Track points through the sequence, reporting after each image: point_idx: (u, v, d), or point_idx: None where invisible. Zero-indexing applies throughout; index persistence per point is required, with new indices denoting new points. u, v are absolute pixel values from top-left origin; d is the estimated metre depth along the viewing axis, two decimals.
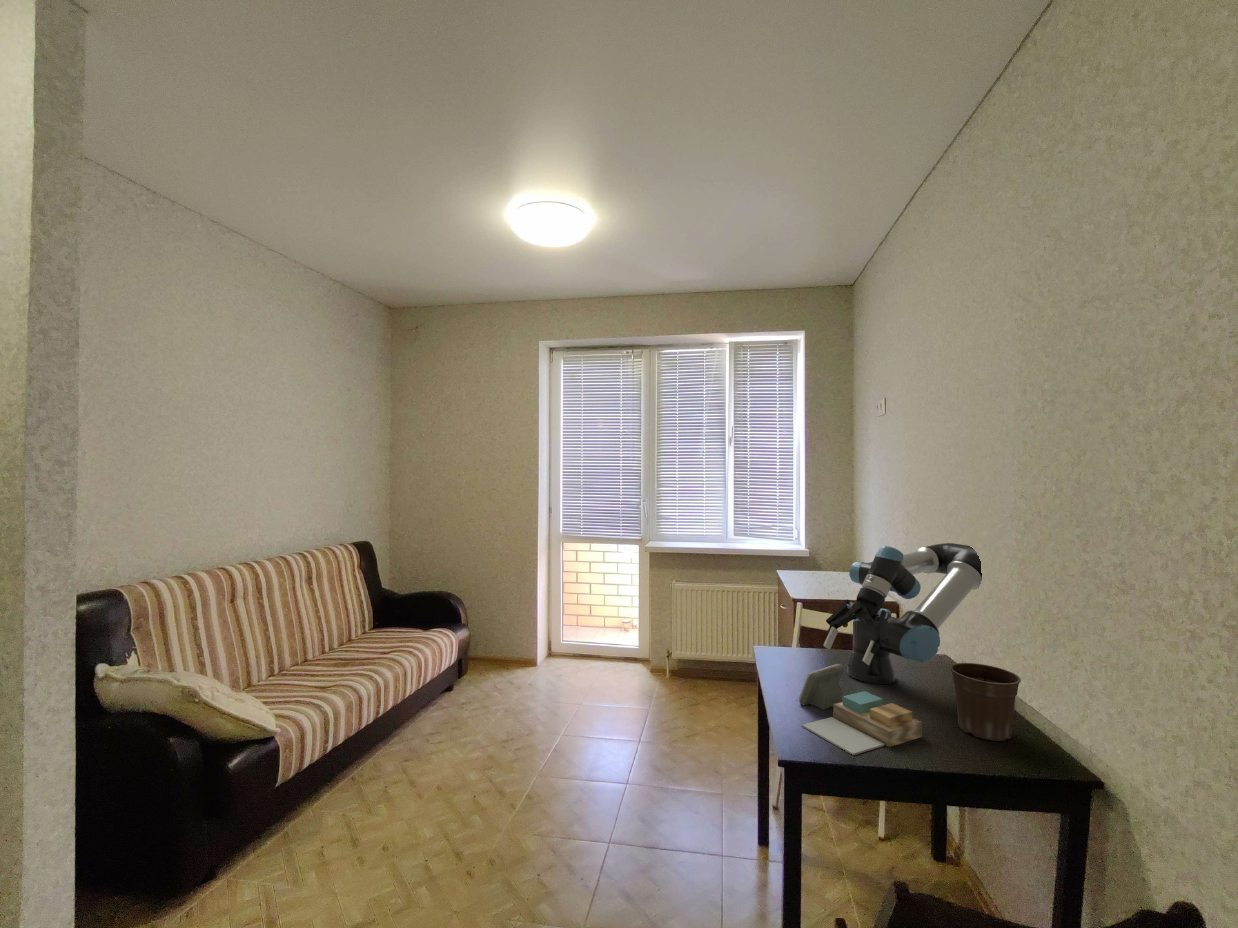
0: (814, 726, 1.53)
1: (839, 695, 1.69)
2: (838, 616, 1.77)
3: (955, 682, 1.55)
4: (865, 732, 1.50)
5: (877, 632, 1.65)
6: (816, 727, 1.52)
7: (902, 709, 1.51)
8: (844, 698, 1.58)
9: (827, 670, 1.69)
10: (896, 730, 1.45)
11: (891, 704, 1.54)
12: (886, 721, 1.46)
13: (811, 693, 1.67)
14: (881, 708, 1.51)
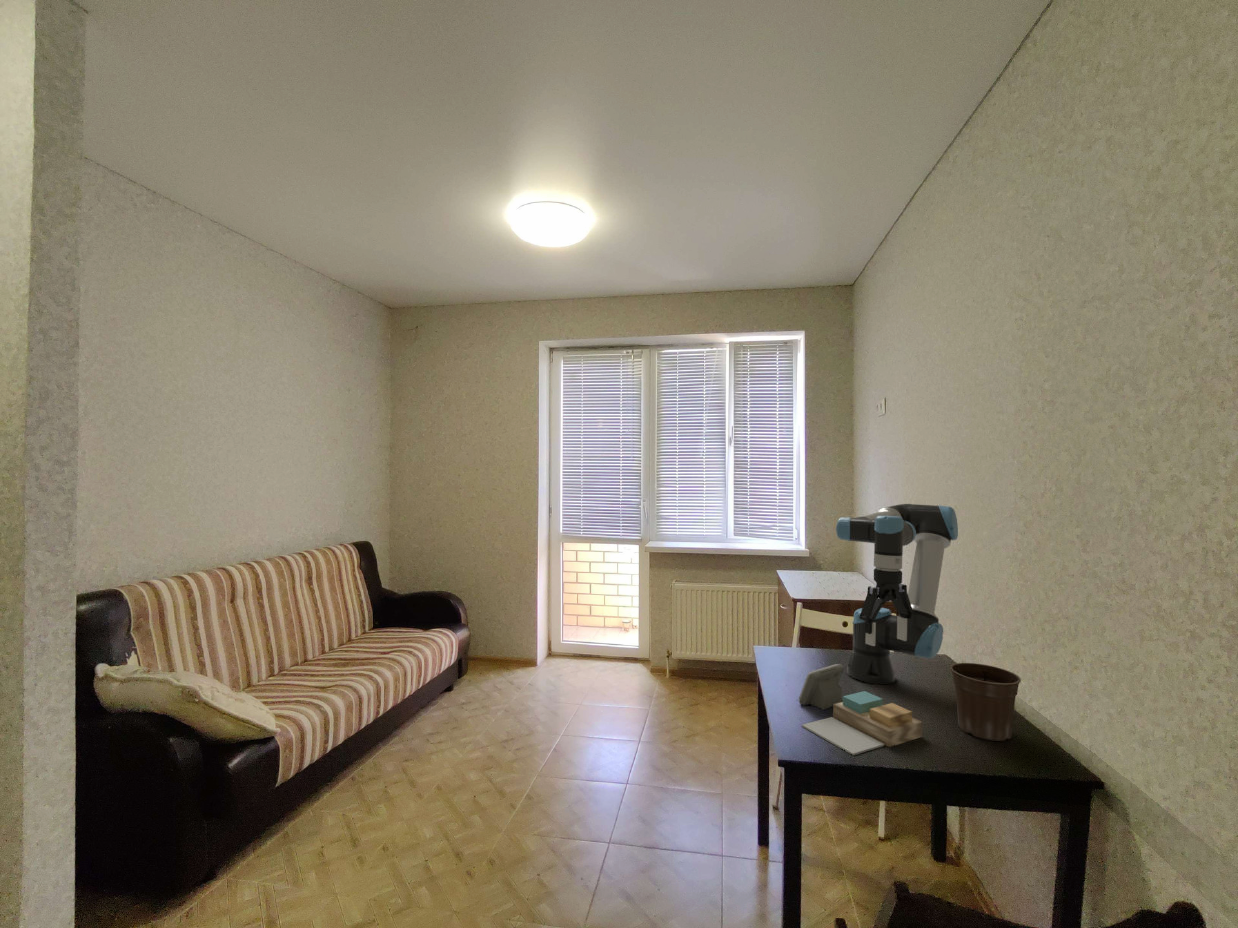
0: (814, 726, 1.53)
1: (839, 695, 1.70)
2: None
3: (955, 682, 1.54)
4: (865, 732, 1.50)
5: None
6: (816, 727, 1.52)
7: (902, 709, 1.51)
8: (844, 698, 1.58)
9: (827, 670, 1.69)
10: (896, 730, 1.45)
11: (891, 704, 1.54)
12: (886, 721, 1.46)
13: (811, 693, 1.67)
14: (881, 708, 1.51)
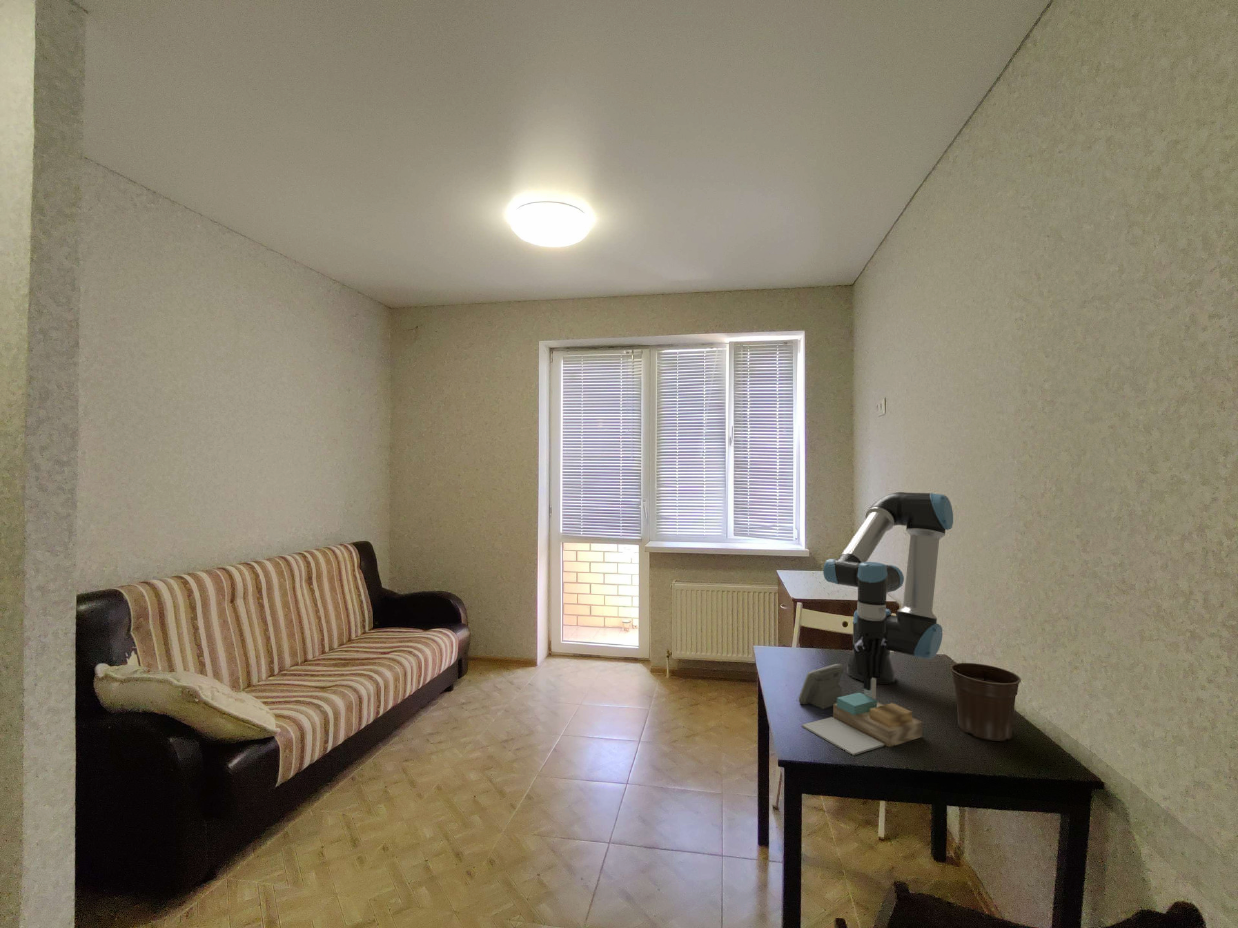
0: (814, 726, 1.53)
1: (839, 695, 1.70)
2: None
3: (955, 682, 1.55)
4: (865, 732, 1.50)
5: None
6: (816, 727, 1.52)
7: (902, 709, 1.51)
8: (838, 699, 1.57)
9: (827, 670, 1.69)
10: (896, 730, 1.45)
11: (891, 704, 1.54)
12: (886, 721, 1.46)
13: (811, 693, 1.67)
14: (881, 708, 1.51)
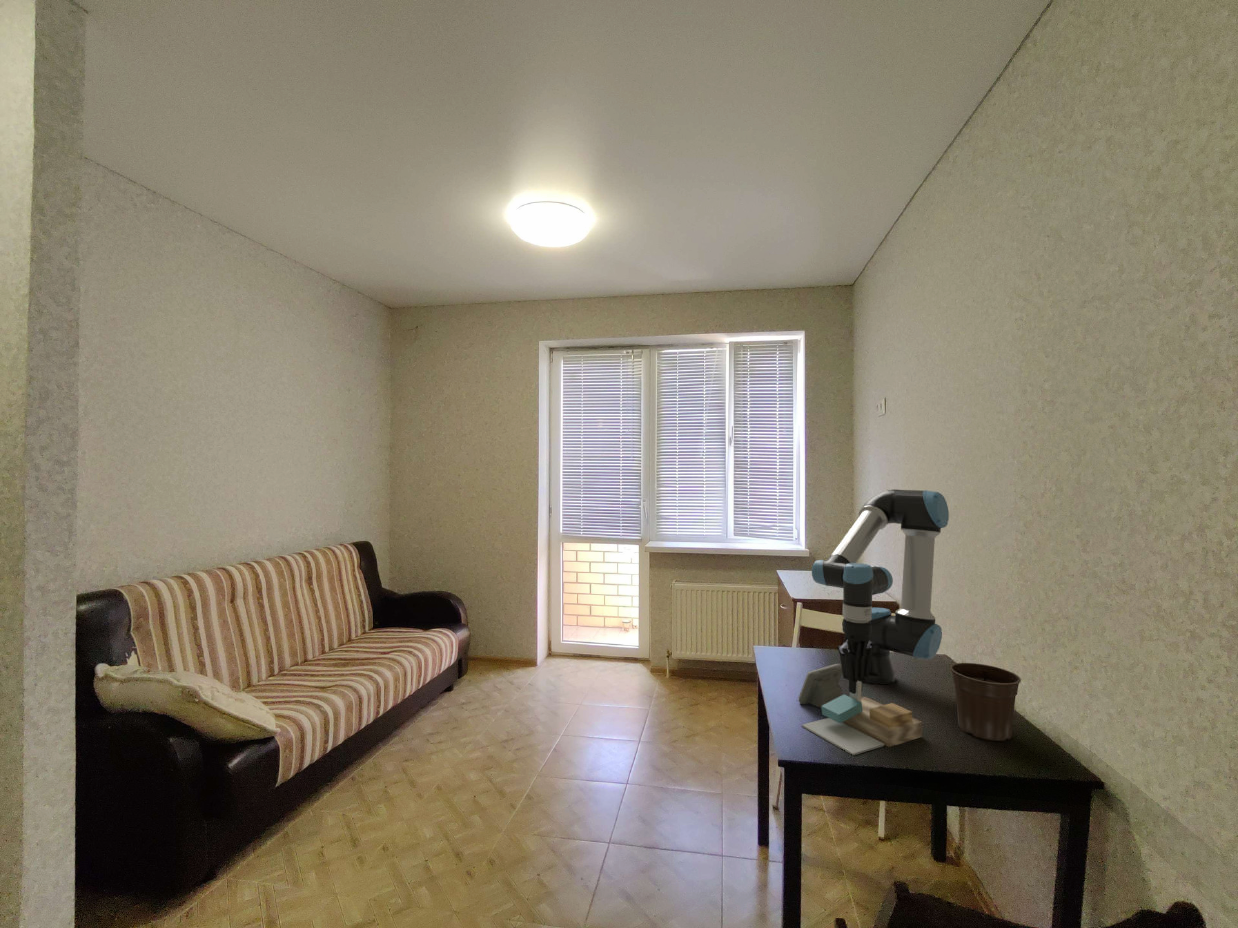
0: (814, 726, 1.53)
1: (839, 695, 1.70)
2: None
3: (955, 682, 1.55)
4: (865, 732, 1.50)
5: None
6: (816, 727, 1.52)
7: (902, 709, 1.51)
8: (823, 708, 1.54)
9: (827, 670, 1.69)
10: (896, 730, 1.45)
11: (891, 704, 1.54)
12: (886, 721, 1.46)
13: (811, 692, 1.68)
14: (881, 708, 1.51)
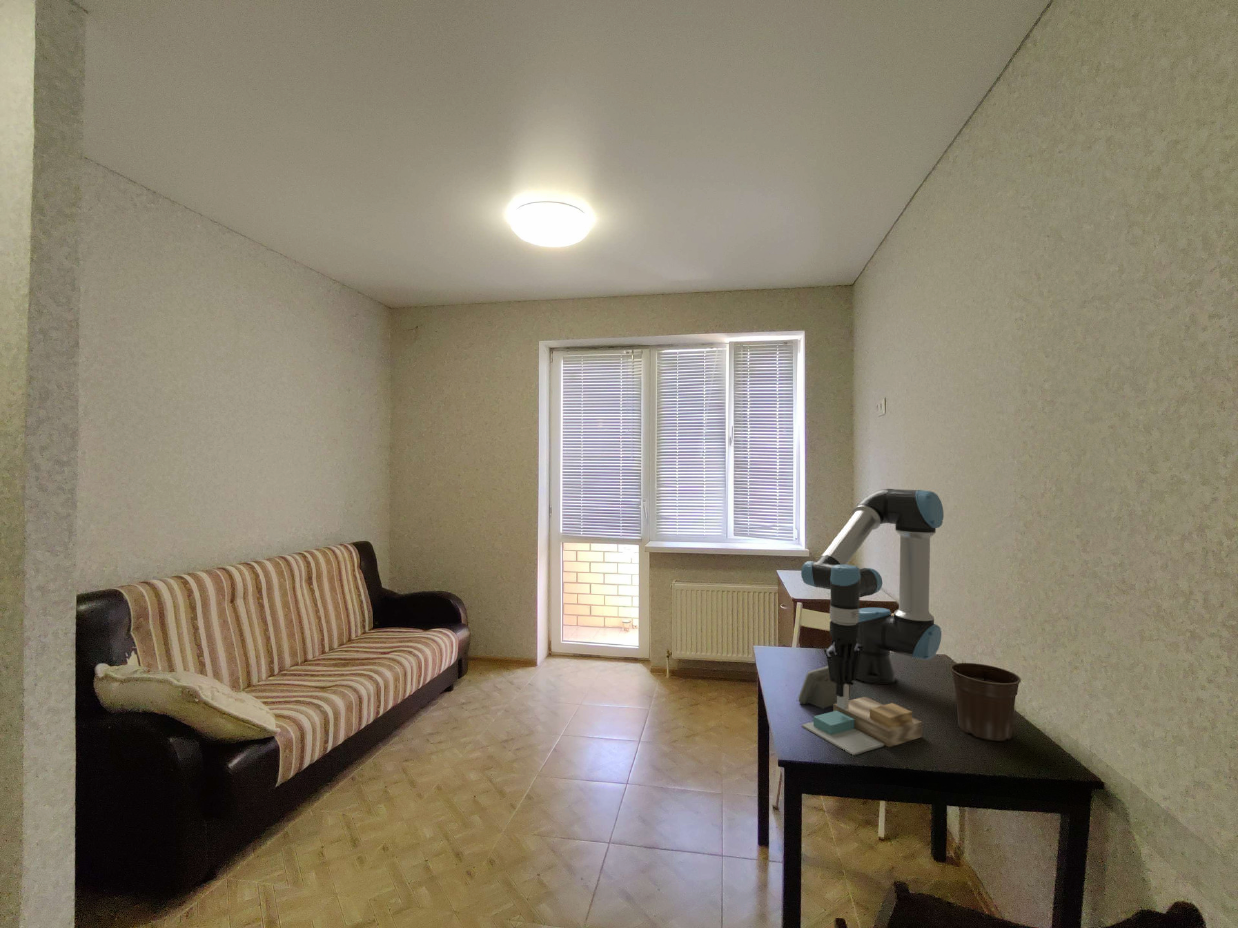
0: (814, 726, 1.53)
1: None
2: None
3: (955, 682, 1.55)
4: (865, 732, 1.50)
5: None
6: (816, 727, 1.52)
7: (902, 709, 1.51)
8: (815, 718, 1.53)
9: (827, 669, 1.69)
10: (896, 730, 1.45)
11: (891, 704, 1.54)
12: (886, 721, 1.46)
13: (811, 692, 1.68)
14: (881, 708, 1.51)
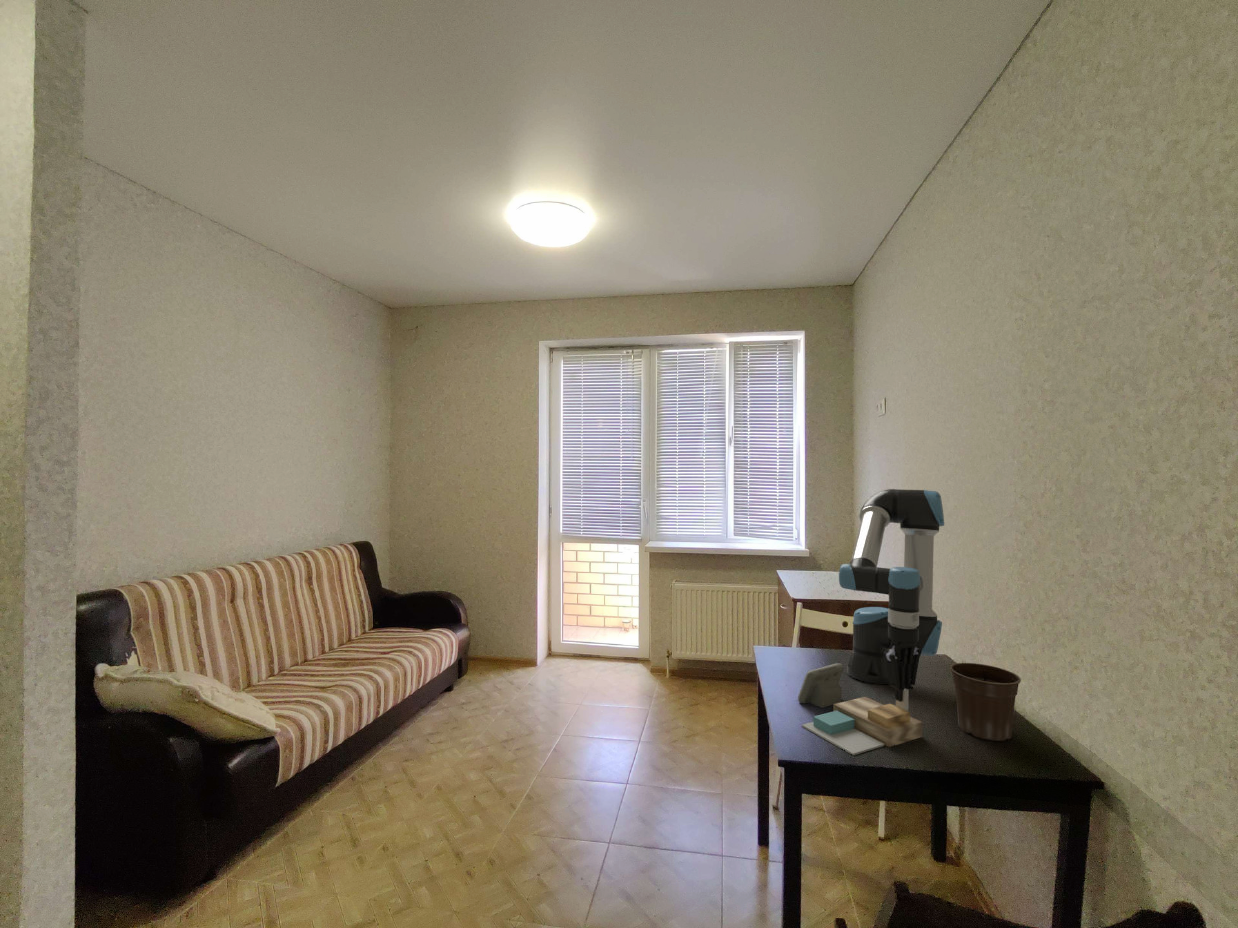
0: (814, 726, 1.53)
1: (838, 695, 1.70)
2: None
3: (955, 682, 1.55)
4: (865, 732, 1.50)
5: None
6: (816, 727, 1.52)
7: (900, 709, 1.51)
8: (815, 718, 1.53)
9: (826, 669, 1.70)
10: (896, 730, 1.45)
11: (889, 705, 1.54)
12: (884, 722, 1.46)
13: (810, 692, 1.68)
14: (879, 709, 1.51)
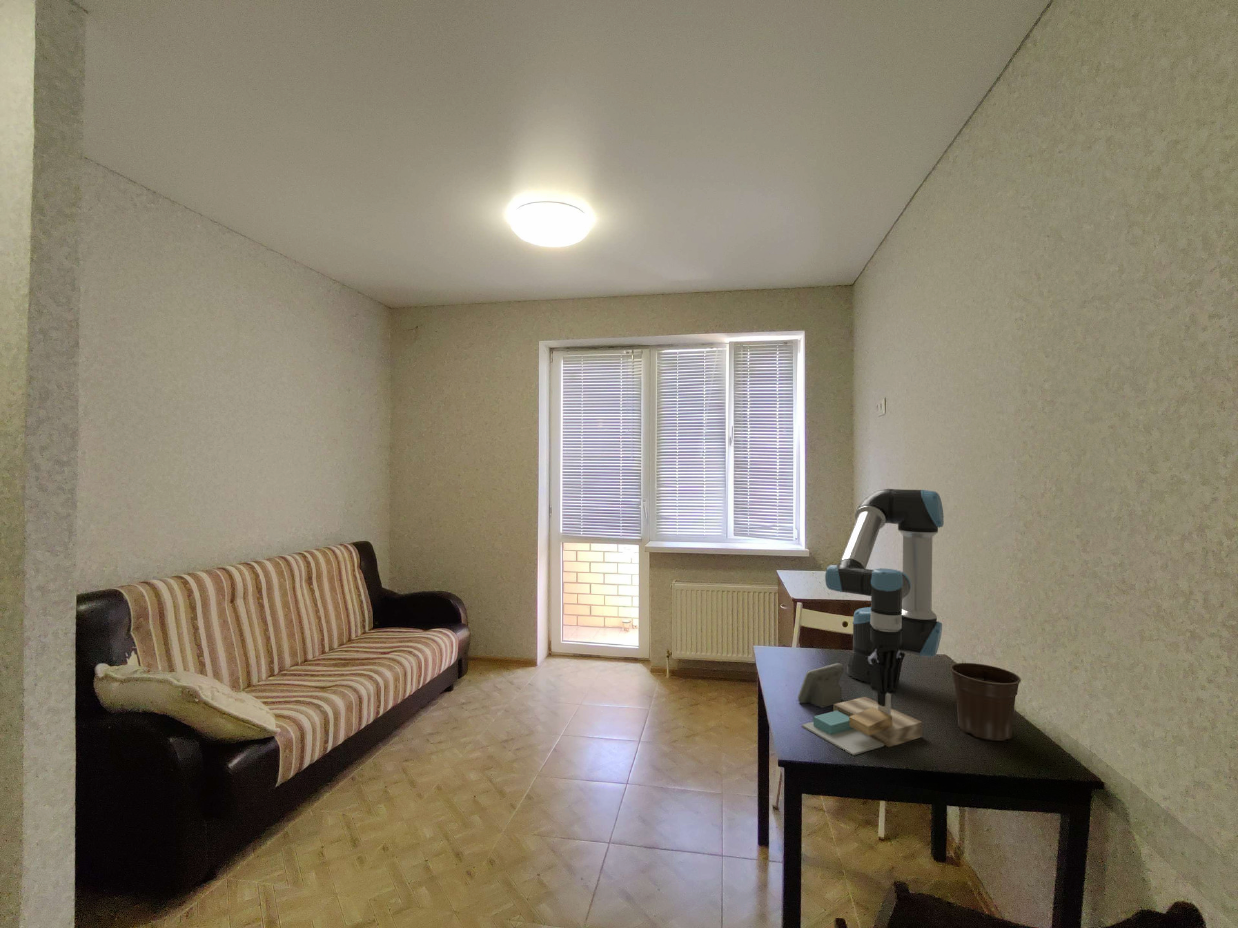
0: (814, 726, 1.53)
1: (838, 694, 1.70)
2: None
3: (955, 682, 1.55)
4: None
5: None
6: (816, 727, 1.52)
7: (882, 714, 1.47)
8: (815, 718, 1.53)
9: (826, 669, 1.70)
10: (896, 730, 1.45)
11: (871, 709, 1.50)
12: (865, 730, 1.43)
13: (810, 692, 1.68)
14: (860, 715, 1.48)
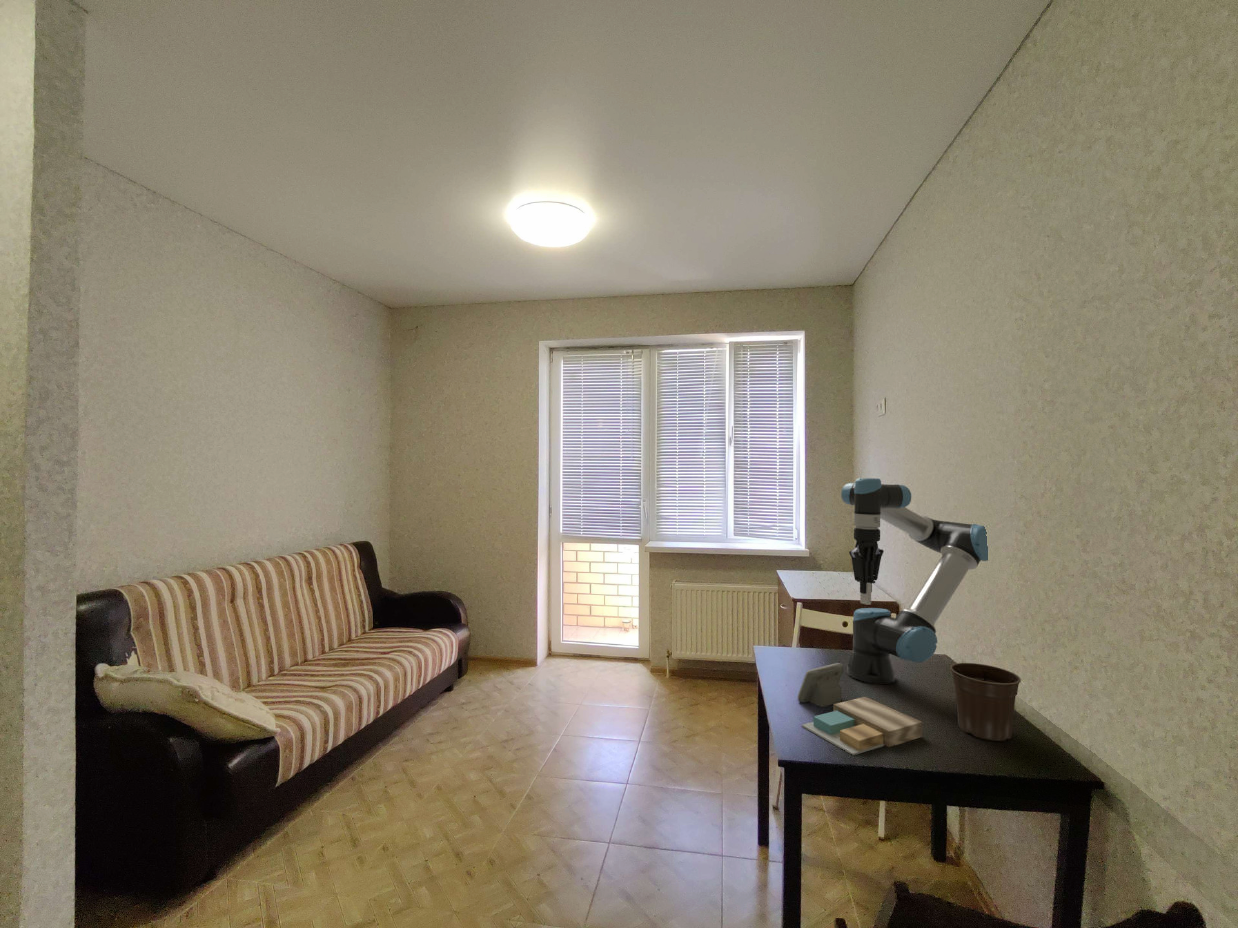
0: (814, 726, 1.53)
1: (838, 694, 1.70)
2: None
3: (955, 682, 1.55)
4: None
5: None
6: (816, 727, 1.52)
7: (873, 730, 1.46)
8: (815, 718, 1.53)
9: (826, 668, 1.70)
10: (896, 730, 1.45)
11: (862, 725, 1.49)
12: (856, 744, 1.41)
13: (810, 691, 1.69)
14: (851, 730, 1.46)
